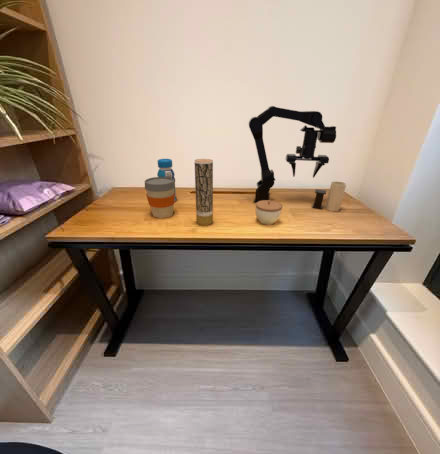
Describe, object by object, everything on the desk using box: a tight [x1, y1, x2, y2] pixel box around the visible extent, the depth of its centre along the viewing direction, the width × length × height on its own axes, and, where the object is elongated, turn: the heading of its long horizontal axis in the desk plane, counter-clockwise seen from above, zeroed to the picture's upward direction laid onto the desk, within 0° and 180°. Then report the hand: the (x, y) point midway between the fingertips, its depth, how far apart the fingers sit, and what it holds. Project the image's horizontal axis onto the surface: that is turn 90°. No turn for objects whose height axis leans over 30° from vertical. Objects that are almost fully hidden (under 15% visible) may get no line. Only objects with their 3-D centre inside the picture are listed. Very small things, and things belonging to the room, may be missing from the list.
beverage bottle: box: [156, 158, 177, 203], centre depth 123 cm, size 8×8×20 cm
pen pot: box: [325, 180, 347, 212], centre depth 118 cm, size 6×6×12 cm
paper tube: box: [194, 158, 214, 226], centre depth 99 cm, size 7×7×25 cm
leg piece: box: [312, 188, 327, 210], centre depth 121 cm, size 5×5×8 cm
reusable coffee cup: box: [144, 176, 176, 219], centre depth 109 cm, size 12×13×15 cm
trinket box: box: [255, 199, 283, 226], centre depth 104 cm, size 11×11×9 cm
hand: (303, 177), depth 121 cm, fingers open, 9 cm apart
